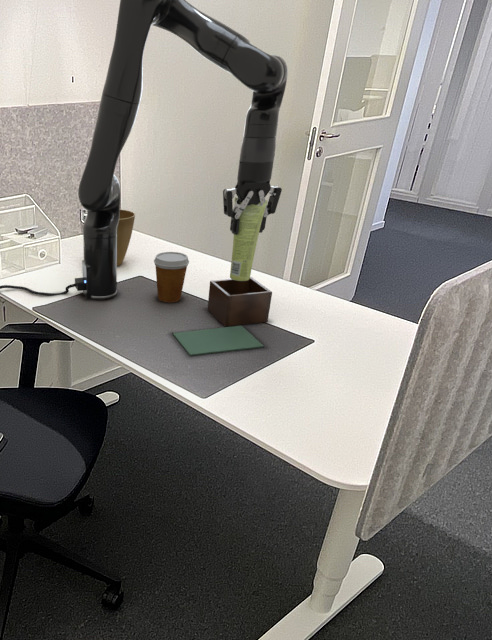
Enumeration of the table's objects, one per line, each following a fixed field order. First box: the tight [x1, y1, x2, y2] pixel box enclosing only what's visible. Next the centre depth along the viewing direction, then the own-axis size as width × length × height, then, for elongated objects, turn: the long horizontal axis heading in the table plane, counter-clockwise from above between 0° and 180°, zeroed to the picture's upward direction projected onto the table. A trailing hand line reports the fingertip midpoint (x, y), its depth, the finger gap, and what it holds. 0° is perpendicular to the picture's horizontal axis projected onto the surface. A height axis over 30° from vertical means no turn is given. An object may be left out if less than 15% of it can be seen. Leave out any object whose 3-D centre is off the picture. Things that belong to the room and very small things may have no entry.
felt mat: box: [172, 325, 264, 357], centre depth 136 cm, size 18×12×1 cm, turn 102°
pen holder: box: [206, 276, 273, 327], centre depth 147 cm, size 12×12×8 cm
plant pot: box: [117, 209, 136, 267], centre depth 184 cm, size 15×15×16 cm
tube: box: [229, 196, 268, 281], centre depth 139 cm, size 6×5×20 cm
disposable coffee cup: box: [153, 251, 190, 303], centre depth 157 cm, size 10×10×12 cm
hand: (246, 232), depth 138 cm, fingers closed on tube, 5 cm apart
